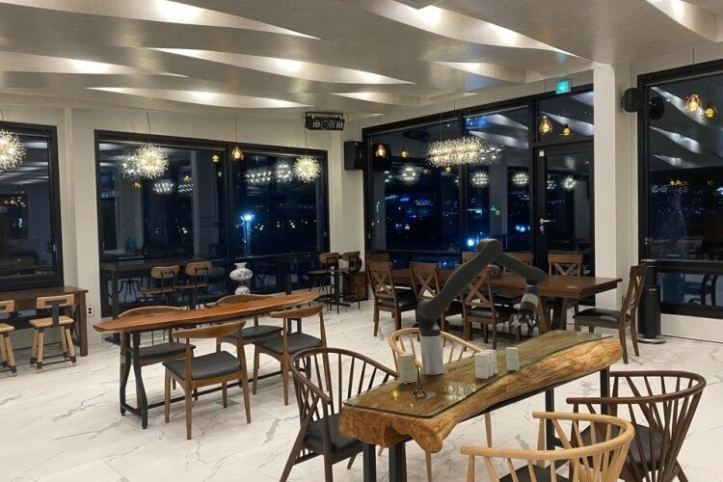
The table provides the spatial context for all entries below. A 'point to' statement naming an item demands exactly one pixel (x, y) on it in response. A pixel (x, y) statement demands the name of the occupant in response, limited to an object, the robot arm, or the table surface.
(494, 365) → the ivory domino
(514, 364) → the sage domino
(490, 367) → the ivory domino
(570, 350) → the table surface
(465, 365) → the table surface
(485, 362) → the ivory domino
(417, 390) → the eiffel tower figurine
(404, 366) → the skincare box
